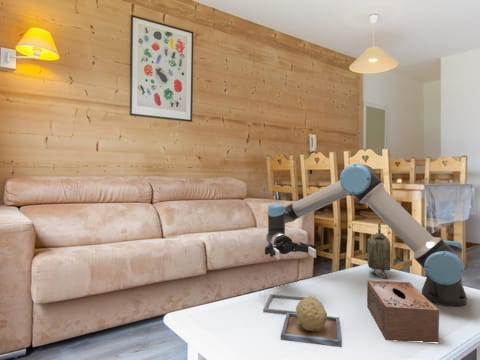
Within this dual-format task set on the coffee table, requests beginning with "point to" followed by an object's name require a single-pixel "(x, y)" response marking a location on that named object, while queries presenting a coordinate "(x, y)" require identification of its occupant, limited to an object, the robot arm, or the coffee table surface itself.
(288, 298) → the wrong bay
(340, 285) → the coffee table surface
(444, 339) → the coffee table surface
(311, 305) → the coral
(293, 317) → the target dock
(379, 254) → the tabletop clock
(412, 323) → the tissue box cover
